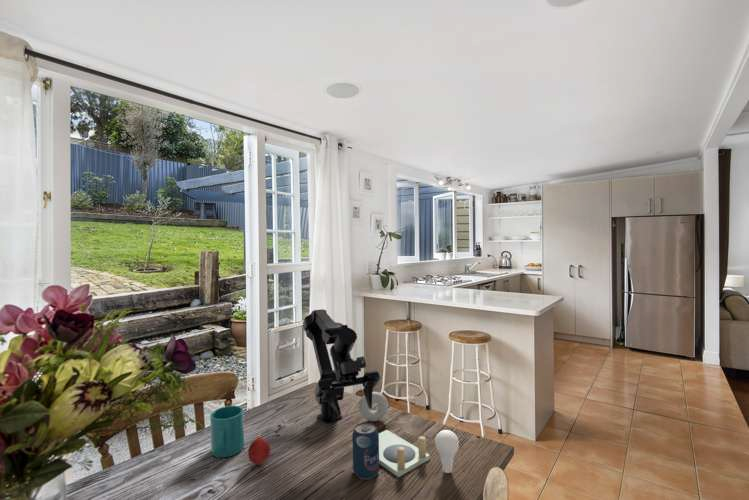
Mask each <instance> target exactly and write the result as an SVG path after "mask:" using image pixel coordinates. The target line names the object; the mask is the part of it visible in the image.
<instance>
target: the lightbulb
mask: <svg viewBox="0 0 749 500" xmlns="http://www.w3.org/2000/svg"><path fill="white" fill-rule="evenodd" d="M434 445H435V447H436V450H437V452H438V453H439V457H440V462H441V467H442V468H441V469H442V471H443V472H444V473H446V474H450V473H452V471H453V467H454V466H453V464H454V459H455V456H456V454H457V452H458V450H459V448H460V441H459V439H458V436H457V435H456V434H455V432H453V431H451V430H449V429H443V430H441V431H439V432H438V433H437V434H436V436H435V439H434Z"/></svg>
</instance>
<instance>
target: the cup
mask: <svg viewBox="0 0 749 500" xmlns="http://www.w3.org/2000/svg"><path fill="white" fill-rule="evenodd" d="M243 408H244V407H242V406H238V405H228V406H221V407H219V408H216V409H215V410H213V411H212V412H211V413H210V416H209V417H210V420H209V421H210V422H209V423H210V445H211V449H210V450H211V454H212V456H214V457H216V458H220V457H221V458H222V459H223V458H224V459H225V458H229V457H232V456H235V455H238V454H239V453H240V452H241V451H242V450H244V446H245V427H244V426H245V425H244V423H245V422H244V409H243ZM221 458H220V459H221Z"/></svg>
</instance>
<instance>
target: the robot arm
mask: <svg viewBox="0 0 749 500" xmlns="http://www.w3.org/2000/svg"><path fill="white" fill-rule="evenodd" d="M302 327H303V331H304V332H305V335H306V337H307V338H308V339H309V340H310V341H311V342H312V345H313V346H312V347H313V350H314V354H315V359H316V363H317V366H318V372H319V375H320V377H319V380H318V382H317V383H316V386H315V389H314V390H315V392H314V396H315V402H317V404H318V405H320V414H317V415H316V417H317V418H318V419H319V420H320V421H322V422H323V423H325V424H330V423H332V422H335V421H337V420H339V419H343V416H342V412H341V406H340V404H339V401H343V400H344V394H345V393H344V392H345V388H347V387H352V386H357V385H362V386H363V387H364V388H363V393H364V395H365V397H366V401H367V404H368V407H369V409H370V410H372V408H373V402H372V392H374V390H373V389H374V388H375V387H376V386H377V384H378V383H379V381H380V379H381V375H380V373H379V372H378V371H377V370H376V369H375V370H369V371H365V372H364V374H363V376H359V375H360V373H359V372H362V369H365V368H366V367H367V363H366V359H365V356H364V355H363V356H358V357H356V360H354V358H352V356H351V354H350V353H351V351H352V350H353V347H354V346H355V343H356V341H357V339H358V334H357V332H355V330H354V329H352V328H351V327H348V324H343V323H341V322H336V321H334V319H332V317H331V316H330V315H329V314H328V313H327V310H326V309H324V308H323V309H322V308H321V309H314V310H312V311H311V312H310V313H309V314H308V315H307V316H305V317H304V319H303V321H302ZM328 345H331V347H330V348H329V351H328V347H327V346H328ZM329 352H330V353H329ZM330 357H331V358H330ZM331 360H332V362H331ZM332 364H333V366H332ZM357 376H359V377H357Z"/></svg>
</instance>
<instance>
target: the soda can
mask: <svg viewBox="0 0 749 500" xmlns="http://www.w3.org/2000/svg"><path fill="white" fill-rule="evenodd" d="M379 433H380V432H379V431H378V429H377V426H376V425H375V424H374V423H371V422H367V421H366V422H361V423H360V422H359V423H358V424H356V425H355V426H354V430H353V431H352V470H353V473H354V474H355V475H356V477H357V478H359V479H361V480H371V479H372V478H373V479H374V478H375V477H376V475H377V474H378V473H379V470H380V464H379Z"/></svg>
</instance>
